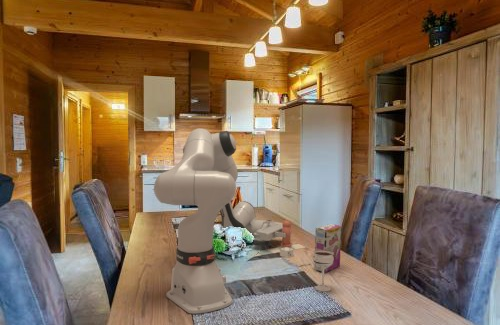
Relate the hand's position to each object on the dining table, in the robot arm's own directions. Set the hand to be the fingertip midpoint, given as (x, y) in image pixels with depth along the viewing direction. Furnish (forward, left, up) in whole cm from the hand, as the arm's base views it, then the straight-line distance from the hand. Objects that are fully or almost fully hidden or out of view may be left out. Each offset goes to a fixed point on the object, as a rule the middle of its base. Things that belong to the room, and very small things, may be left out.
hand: (288, 234), depth 151 cm
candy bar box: (-25, -1, -8) cm, 27 cm away
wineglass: (-38, +13, -8) cm, 41 cm away
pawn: (+1, 0, -5) cm, 6 cm away
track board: (+1, +6, -8) cm, 10 cm away
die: (-8, +6, -8) cm, 13 cm away
